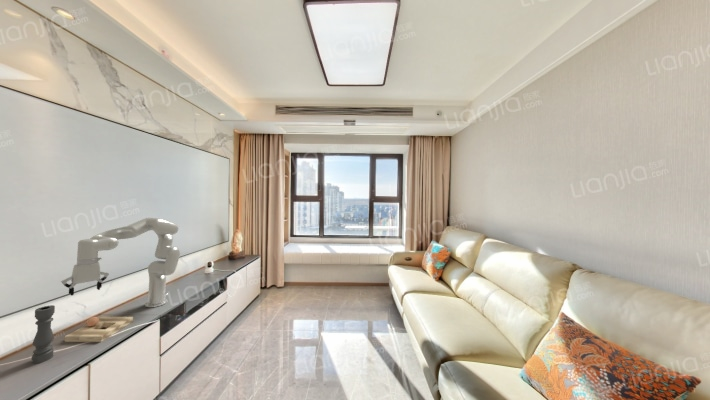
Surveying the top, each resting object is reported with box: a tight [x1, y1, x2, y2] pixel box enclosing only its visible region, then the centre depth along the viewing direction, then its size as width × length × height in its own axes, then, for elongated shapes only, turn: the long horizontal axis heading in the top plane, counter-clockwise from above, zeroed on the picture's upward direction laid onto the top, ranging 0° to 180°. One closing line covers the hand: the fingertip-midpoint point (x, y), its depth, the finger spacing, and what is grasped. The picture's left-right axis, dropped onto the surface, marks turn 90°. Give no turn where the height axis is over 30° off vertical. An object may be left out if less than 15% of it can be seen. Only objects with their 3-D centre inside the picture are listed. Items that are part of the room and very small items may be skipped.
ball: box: [85, 316, 100, 326], centre depth 133 cm, size 5×5×5 cm
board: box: [64, 316, 134, 343], centre depth 134 cm, size 20×18×3 cm
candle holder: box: [31, 305, 56, 365], centre depth 110 cm, size 6×6×25 cm
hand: (85, 291), depth 127 cm, fingers open, 9 cm apart
